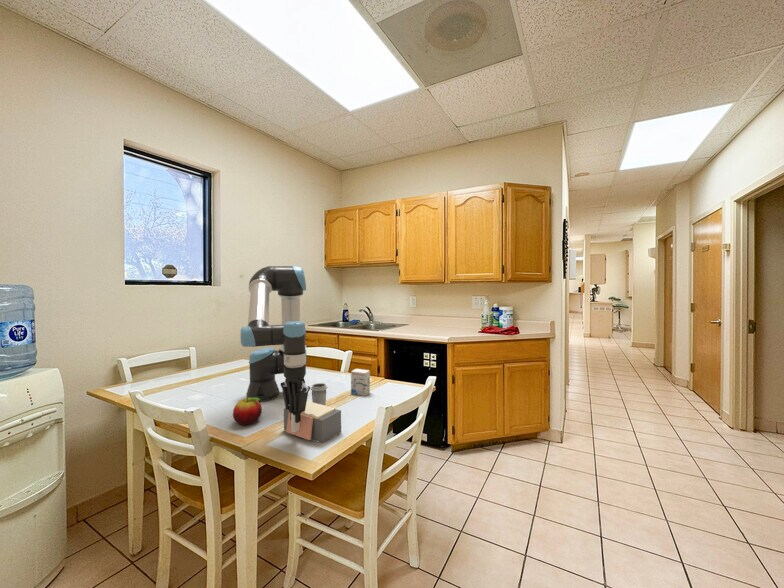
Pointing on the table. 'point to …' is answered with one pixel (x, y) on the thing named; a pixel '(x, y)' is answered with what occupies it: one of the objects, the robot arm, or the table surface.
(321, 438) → the block
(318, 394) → the cup
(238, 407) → the fruit
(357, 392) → the ink box
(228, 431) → the table surface
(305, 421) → the pink rectangular panel
